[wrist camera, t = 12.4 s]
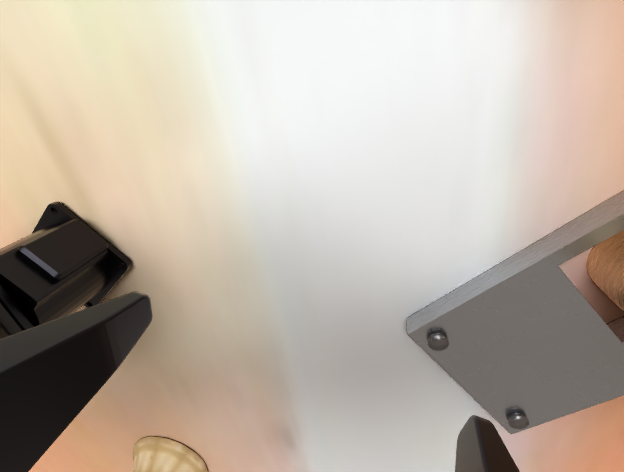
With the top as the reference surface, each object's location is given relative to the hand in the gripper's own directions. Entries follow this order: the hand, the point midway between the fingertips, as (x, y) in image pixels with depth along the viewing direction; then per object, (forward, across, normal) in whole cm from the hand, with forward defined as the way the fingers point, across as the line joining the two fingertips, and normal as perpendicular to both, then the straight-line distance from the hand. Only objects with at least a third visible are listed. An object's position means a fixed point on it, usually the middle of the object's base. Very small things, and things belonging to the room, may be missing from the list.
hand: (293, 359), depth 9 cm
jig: (+14, -14, +4) cm, 20 cm away
